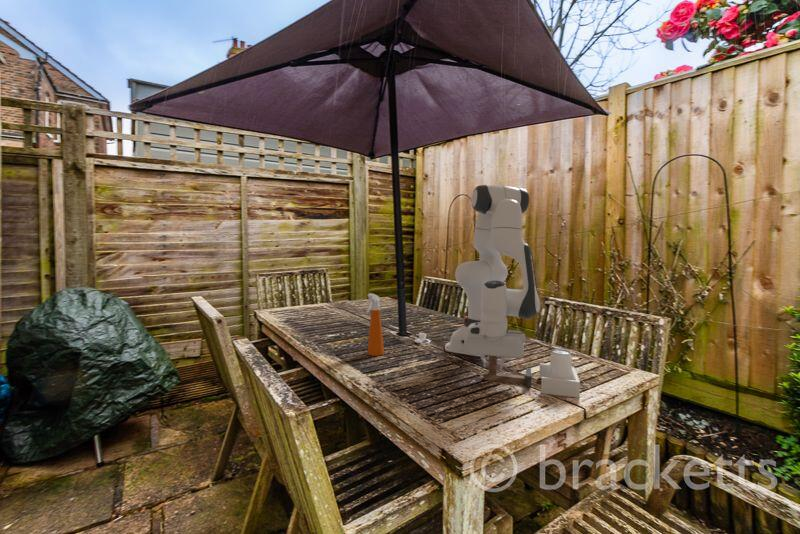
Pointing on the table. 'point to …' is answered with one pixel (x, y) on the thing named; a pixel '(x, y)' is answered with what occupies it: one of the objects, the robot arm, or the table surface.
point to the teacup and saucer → (422, 338)
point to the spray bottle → (375, 327)
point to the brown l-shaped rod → (508, 378)
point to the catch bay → (559, 383)
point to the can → (560, 364)
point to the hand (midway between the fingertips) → (492, 367)
